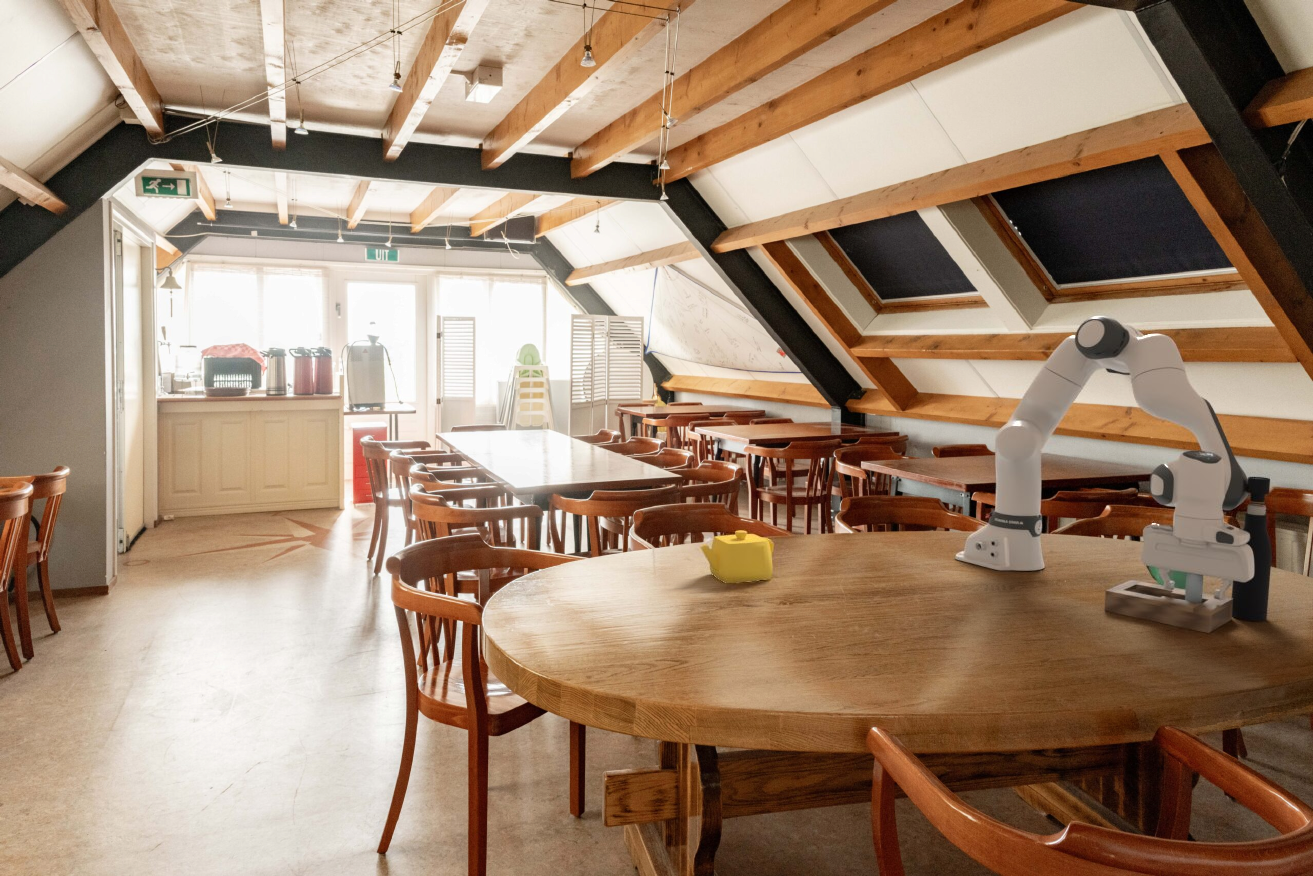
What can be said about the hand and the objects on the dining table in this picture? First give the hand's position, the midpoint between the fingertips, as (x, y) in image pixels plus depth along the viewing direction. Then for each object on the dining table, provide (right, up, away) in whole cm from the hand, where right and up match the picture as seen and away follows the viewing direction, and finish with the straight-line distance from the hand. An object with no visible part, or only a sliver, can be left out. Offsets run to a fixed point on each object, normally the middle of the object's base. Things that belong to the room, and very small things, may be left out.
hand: (1193, 594), depth 179 cm
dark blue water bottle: (+13, -6, +3) cm, 15 cm away
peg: (0, -6, +1) cm, 6 cm away
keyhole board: (-3, -5, +4) cm, 7 cm away
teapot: (-93, -3, +36) cm, 99 cm away
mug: (+9, -4, +23) cm, 25 cm away
